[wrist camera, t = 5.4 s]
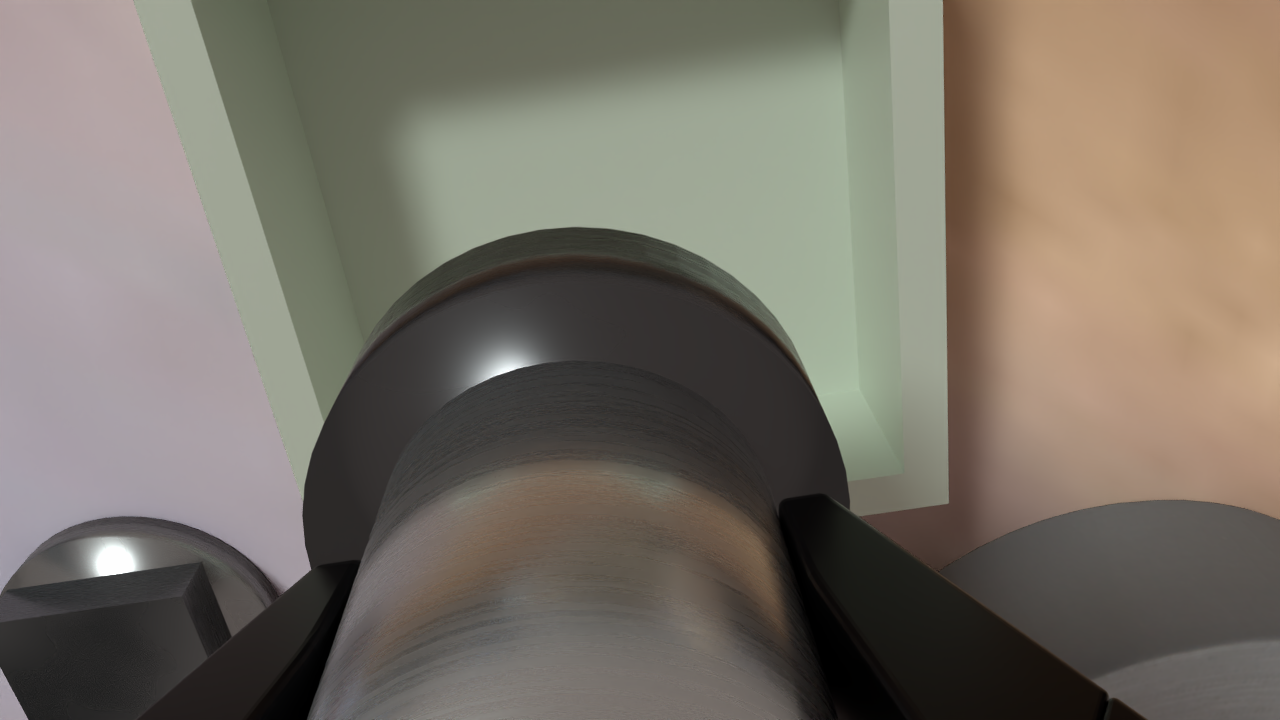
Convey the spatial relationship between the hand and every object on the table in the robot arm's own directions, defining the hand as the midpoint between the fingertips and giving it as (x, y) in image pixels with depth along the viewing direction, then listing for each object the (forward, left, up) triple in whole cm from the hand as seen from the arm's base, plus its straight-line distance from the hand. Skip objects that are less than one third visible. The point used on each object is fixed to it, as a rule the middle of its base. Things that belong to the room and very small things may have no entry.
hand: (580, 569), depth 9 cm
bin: (0, 0, -12) cm, 12 cm away
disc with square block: (-9, +12, -12) cm, 19 cm away
